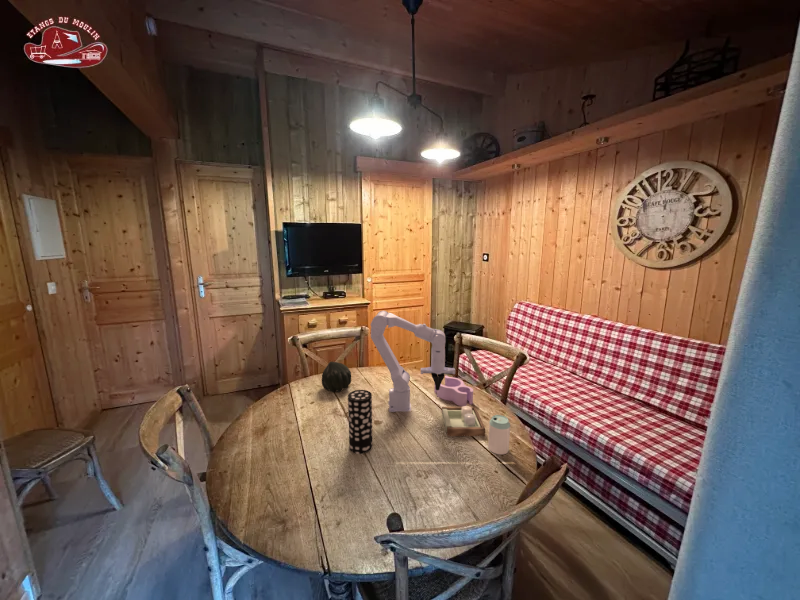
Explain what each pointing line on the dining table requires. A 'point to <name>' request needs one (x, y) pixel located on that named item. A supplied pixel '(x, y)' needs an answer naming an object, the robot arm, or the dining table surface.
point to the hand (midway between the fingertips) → (437, 389)
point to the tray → (455, 419)
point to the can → (499, 434)
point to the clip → (455, 391)
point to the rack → (466, 430)
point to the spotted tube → (360, 421)
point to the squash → (336, 377)
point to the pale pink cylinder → (465, 411)
